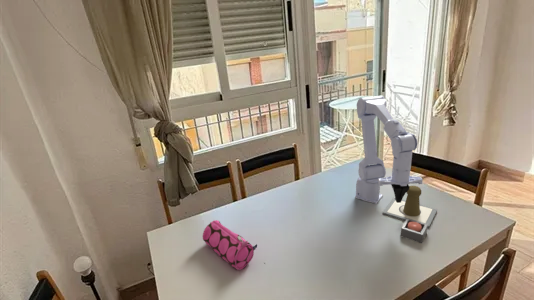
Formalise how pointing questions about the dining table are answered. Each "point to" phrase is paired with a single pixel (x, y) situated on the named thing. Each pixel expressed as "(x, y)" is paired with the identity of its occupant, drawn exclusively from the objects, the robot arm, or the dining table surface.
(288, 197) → the dining table surface
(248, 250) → the pencil case
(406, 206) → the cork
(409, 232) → the button base
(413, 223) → the button
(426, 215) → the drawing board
